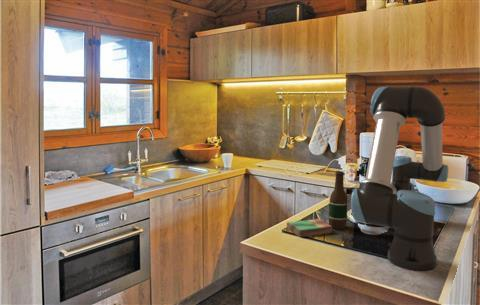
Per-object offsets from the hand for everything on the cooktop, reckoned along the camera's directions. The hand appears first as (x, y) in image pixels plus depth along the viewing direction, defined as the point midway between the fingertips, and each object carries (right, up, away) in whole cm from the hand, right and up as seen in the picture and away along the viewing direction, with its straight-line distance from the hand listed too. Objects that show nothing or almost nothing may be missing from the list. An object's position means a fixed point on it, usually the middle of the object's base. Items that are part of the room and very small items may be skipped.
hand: (342, 196), depth 166 cm
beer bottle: (-2, -13, +1) cm, 13 cm away
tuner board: (-15, -13, -4) cm, 20 cm away
